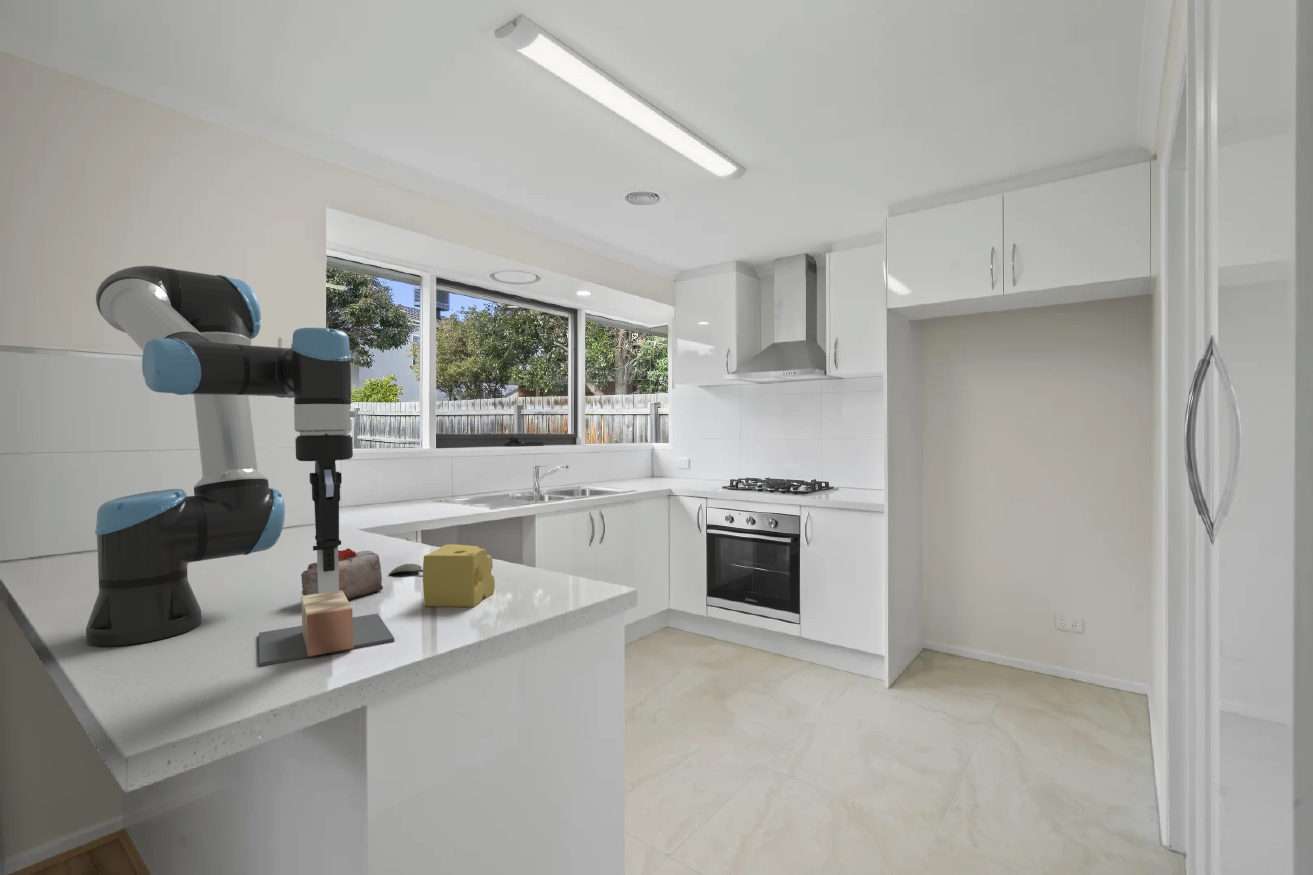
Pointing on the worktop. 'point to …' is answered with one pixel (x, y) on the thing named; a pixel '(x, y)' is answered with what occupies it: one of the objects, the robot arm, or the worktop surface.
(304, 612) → the block
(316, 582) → the food item
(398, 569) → the soupspoon
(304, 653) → the mat
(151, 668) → the worktop surface
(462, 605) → the cheese
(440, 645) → the worktop surface
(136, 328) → the robot arm
